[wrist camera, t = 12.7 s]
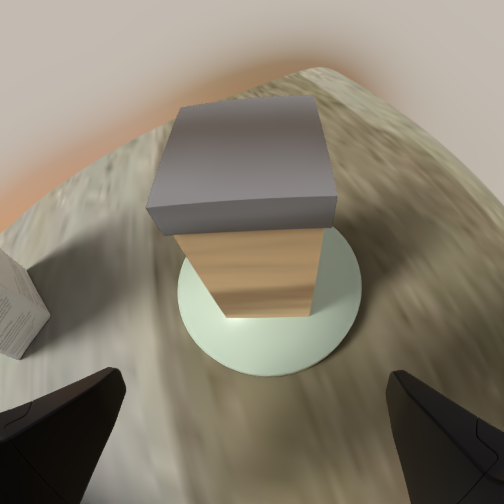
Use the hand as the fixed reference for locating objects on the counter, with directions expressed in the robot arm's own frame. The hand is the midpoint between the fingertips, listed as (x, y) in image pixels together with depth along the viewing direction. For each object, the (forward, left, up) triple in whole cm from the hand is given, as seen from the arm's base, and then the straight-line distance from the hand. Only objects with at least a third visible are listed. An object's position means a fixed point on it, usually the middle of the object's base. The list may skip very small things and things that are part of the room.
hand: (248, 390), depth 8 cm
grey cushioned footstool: (+4, +6, -8) cm, 11 cm away
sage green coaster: (+4, +6, -9) cm, 12 cm away
